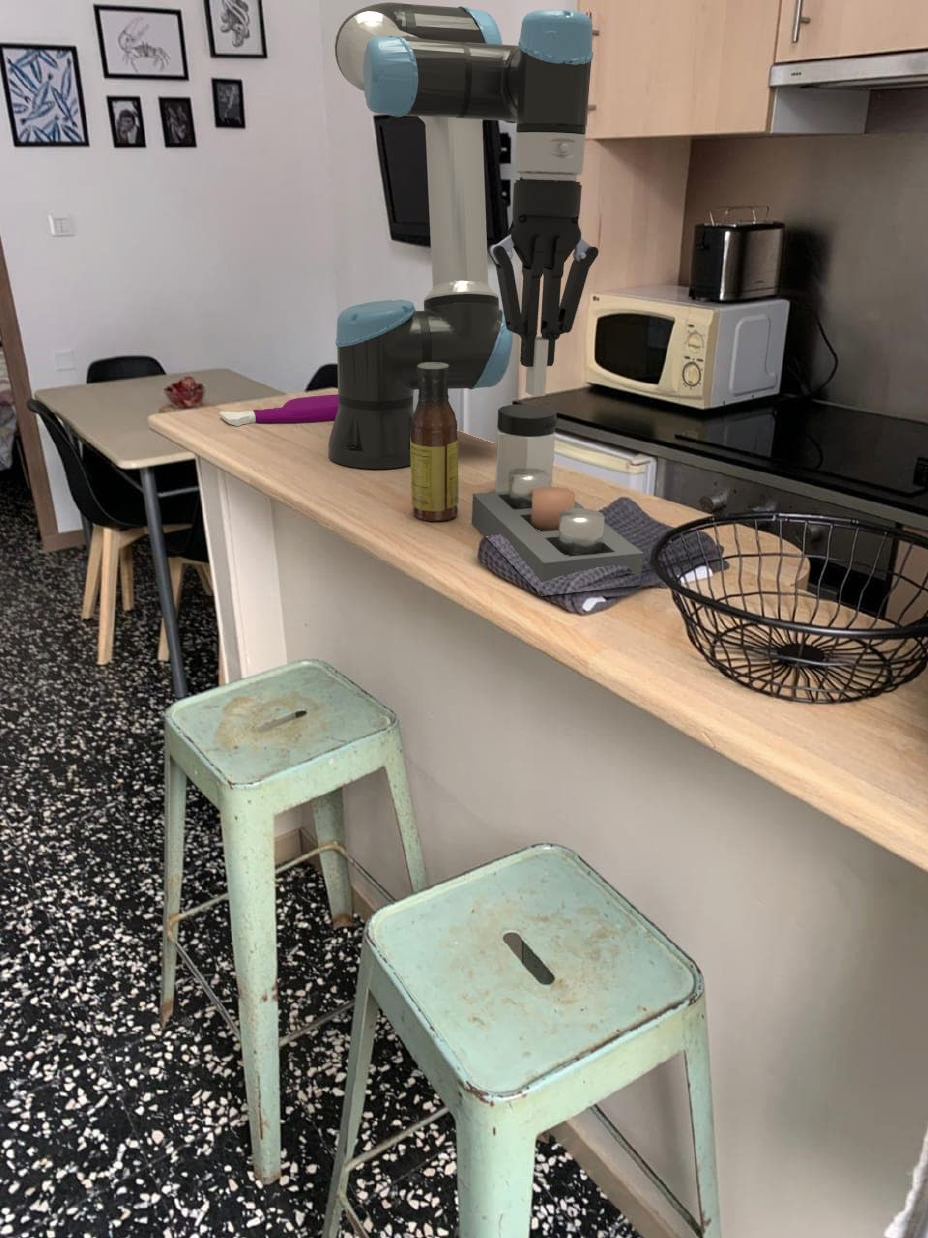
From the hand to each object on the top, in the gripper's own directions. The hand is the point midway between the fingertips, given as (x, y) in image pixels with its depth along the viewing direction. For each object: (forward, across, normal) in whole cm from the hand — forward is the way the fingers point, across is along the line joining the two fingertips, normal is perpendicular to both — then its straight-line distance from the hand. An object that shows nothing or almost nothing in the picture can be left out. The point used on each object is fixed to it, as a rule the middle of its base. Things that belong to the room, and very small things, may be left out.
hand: (535, 393), depth 113 cm
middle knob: (+14, 0, -8) cm, 16 cm away
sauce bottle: (+18, -10, +8) cm, 22 cm away
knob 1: (+14, 0, 0) cm, 14 cm away
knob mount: (+18, 0, -8) cm, 19 cm away
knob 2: (+14, 0, -16) cm, 21 cm away
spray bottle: (+18, -20, +66) cm, 71 cm away
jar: (+18, +5, +14) cm, 23 cm away
